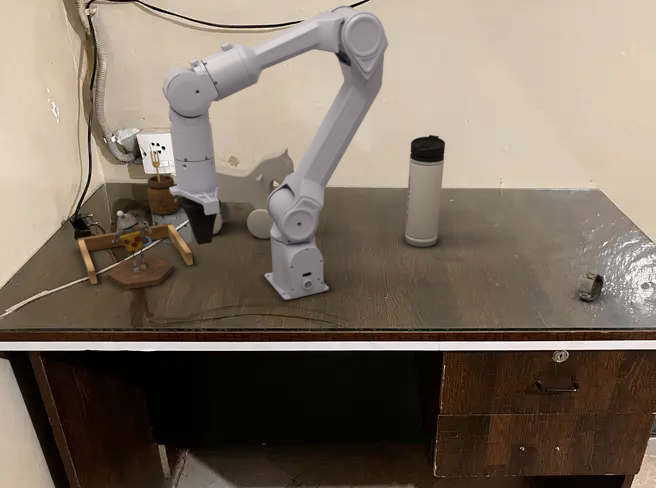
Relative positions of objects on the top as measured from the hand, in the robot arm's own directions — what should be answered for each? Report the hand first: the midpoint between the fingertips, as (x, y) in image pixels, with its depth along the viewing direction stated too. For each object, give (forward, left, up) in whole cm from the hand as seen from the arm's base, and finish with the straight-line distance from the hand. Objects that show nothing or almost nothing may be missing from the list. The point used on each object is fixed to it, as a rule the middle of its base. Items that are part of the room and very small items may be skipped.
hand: (204, 242), depth 97 cm
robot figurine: (+12, +8, -10) cm, 17 cm away
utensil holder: (+40, -2, -10) cm, 41 cm away
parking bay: (+19, +8, -9) cm, 23 cm away
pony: (+22, -14, -10) cm, 28 cm away
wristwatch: (-28, -56, -10) cm, 63 cm away
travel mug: (+3, -43, -10) cm, 44 cm away
